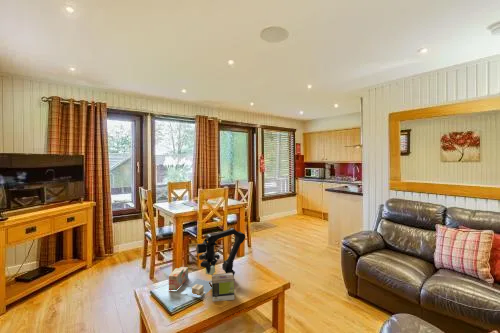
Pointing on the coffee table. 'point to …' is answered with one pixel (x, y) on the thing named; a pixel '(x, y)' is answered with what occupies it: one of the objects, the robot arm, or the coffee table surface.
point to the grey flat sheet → (204, 283)
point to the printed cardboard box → (178, 278)
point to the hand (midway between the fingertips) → (210, 271)
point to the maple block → (198, 289)
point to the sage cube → (211, 270)
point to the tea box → (222, 287)
